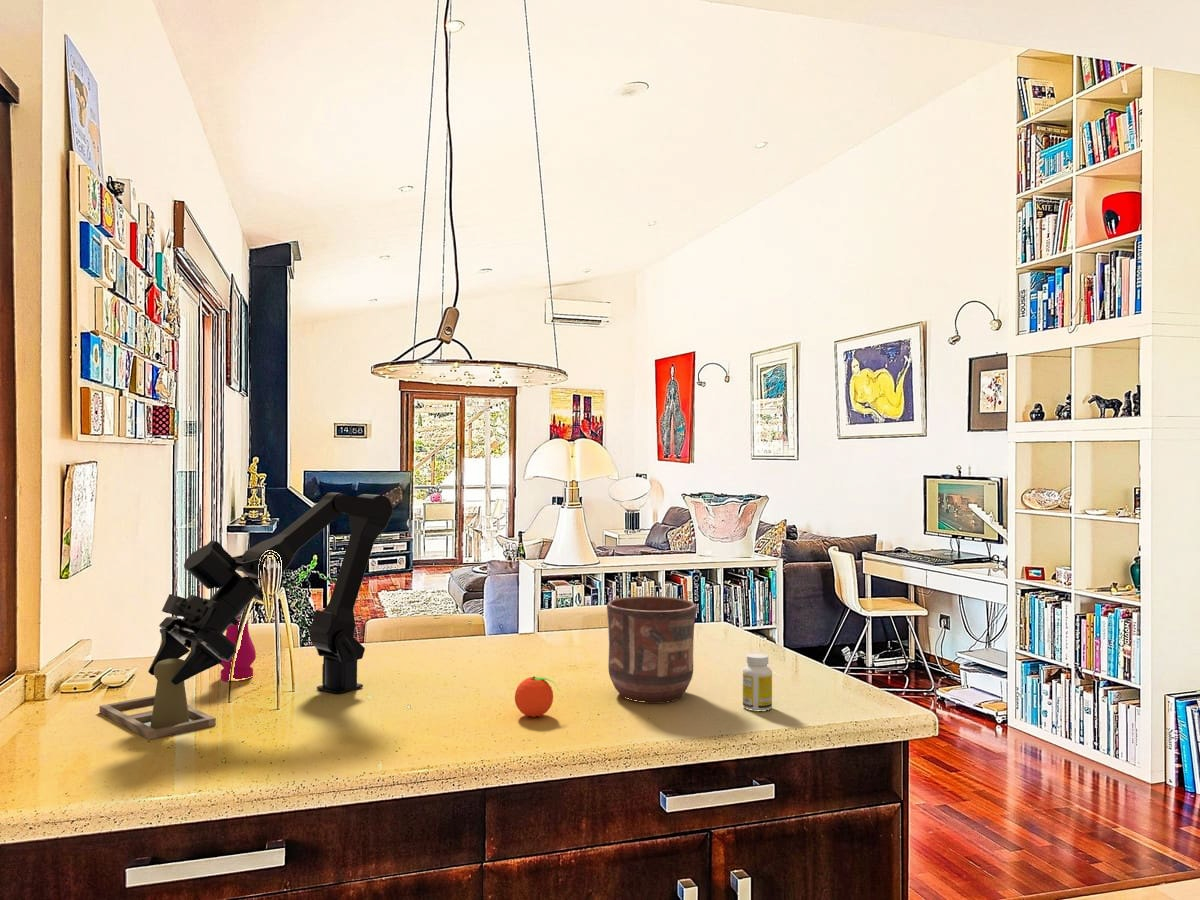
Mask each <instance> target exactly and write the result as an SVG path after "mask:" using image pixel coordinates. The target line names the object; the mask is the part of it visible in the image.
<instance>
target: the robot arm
mask: <svg viewBox="0 0 1200 900" xmlns="http://www.w3.org/2000/svg"><path fill="white" fill-rule="evenodd" d="M393 511H394V506H393V505H392V501H391V500H390V499H389V498H388V497H387V496H385V495H382V494H380V495H379V494H371V493H370V494H368V493H364V494H360V495H358V496H353V495H347V494H345V493H342V492H328V493H325V494H324V496H323V497H322V498H321V499H320V500H319V501H318V502H317V503H315V504H314V505H313V506H312V507H310V509H308V510H307V511H306V512H303V514H302V515H301V516H300V517H297V519H296V520H294V521H293V522H292V523H291V524H290V525H289V526H287V527H286V528H285V529H284V530H282V531H281V532H280V533H278V534H277V535H275V536H273V537H271V538H268V539H264V540H263V541H260V542H259V543H257V544H255V545H254V546H252V547H250V548H248V549H247V550H246V551H245V552H244V553H243V554H240V555H236V556H232V555H231V554H230V553H229V552H228V551H226V549H225V548H224V547H223V545H222V544H221V543H220V542H219V541H217V540H210V541H209V542H208V543H207V544H205V545H203V546H201V547H199V548H198V549H196V550H195V551H193V552H192V553H190V555H189V556H188V557H187V558H186V560H185V561H184V563H183V568H184V569H185V570H186V571H187V572H188V573H189V574H191V576H193V577H194V578H195V579H196V581H198V582H199V583H200V584H201V585H203V587H204V588H206V589H207V590H212V589H214V588H215V589H217V590H216V591H215V592H214V594H212V596H211V597H210V598H203V597H201V596H198V595H194V594H190V595H189V596H188V597H187V598H185V597H182V596H179V595H175V594H171V593H169V594H168V596H167V599H166V600H165V603H164V605H163V607H162V609H161V612H162V613H165V614H170V615H173V616H166V617H165V618H164V619H163V620H162V622H160V623H159V625H158V626H159V628H160V629H159V634H160V635H161V644H160V646H159V649H158V650H157V652H156V655H155V656H154V659H153V660H152V662H151V665H150V667H149V668H148V672H147V673H148V674H150V675H151V676H154V667H155V665H156V663H157V662H159V661H161V660H165V659H171V658H177V659H181V658H182V657H183V656H185V655H186V654H188V655H187V656H186V658H185V659H184V662H183V663H182V665H181V666H180V668H179V669H178V670H177V672H176V673H175V675H174V676H173V678H172V679H171V682H172V683H173V684H174V685H177V684H179V683H181V682H183V681H184V682H186V680H189V679H190V678H192V677H194V676H196V675H198V674H200V673H202V672H204V671H207V670H209V669H211V668H212V667H215V666H217V665H221V664H222V663H223V661H222V660H224V661H227V662H228V661H229V660H230V659H231V658H232V657H233V656H234V654H235V653H236V645H235V644H234V643H232V642H231V641H230V640H229V639H228V638H227V637H226V635H224V634H225V633H226V631H227V628H228V627H229V626H230V625H233V626H236V625H237V623H238V622H239V621H238V620H237V619H236V618H237V617H238V616H239V614H240V613H241V612H242V611H243V610H244V609H245V607H246V606H247V605H248V604H249V603H250V602H251V601H252V599H253V600H256V601H260V602H264V601H263V594H262V591H261V587H259V585H260V584H257V583H256V582H255V581H254V580H253V579H256V580H260V579H261V578H260V570H262V574H263V564H264V561H265V559H266V558H267V556H266V557H265V558H264V559H263V562H262V566H261V561H262V558H263V557H264V555H266V554H267V553H269V552H272V551H268V552H266V553H265V554H264V555H263V556H262V557H261V555H262V554H263V553H264V552H265V551H267V550H273V551H275V552H277V553H278V554H279V555H280V557H281V560H282V574H283V572H285V571H286V569H287V568H288V567H289V566H290V565H291V563H292V561H293V559H294V556H295V555H296V554H297V552H299V550H300V549H301V548H302V547H304V546H305V545H306V544H307V543H309V542H310V540H312V539H313V538H315V537H316V535H318V534H319V533H320V532H321V531H323V530H324V529H325V528H327V526H328V525H330V524H331V523H332V522H333V521H335V520H336V519H337V518H338V517H339V516H340V515H342V514H344V515H349V516H348V517H349V518H348V523H349V530H350V535H349V538H348V539H349V540H348V542H347V546H346V549H345V552H344V556H343V559H342V562H341V565H340V567H339V570H338V571H339V572H338V574H337V578H336V581H335V583H334V587H333V591H332V593H331V596H330V599H329V602H328V604H327V605H326V606H325V607H324V609H322V610H319V609H316V610H315V611H314V614H313V619H312V622H311V624H310V625H309V627H308V628H307V629H308V630H309V631H310V633H309V640H310V642H311V643H312V644H311V645H312V646H314V648H315V649H316V651H317V655H318V656H319V657H323V659H322V660H323V661H322V668H321V669H322V672H321V673H322V674H321V675H322V681H321V683H322V684H321V685H318V686H316V690H319V691H324V692H328V693H332V694H345V693H347V692H349V691H350V690H351V691H354V690H356V689H357V688H358V689H361V688H363V687H364V684H361V683H358V660H362V659H363V657H364V654H365V651H366V648H365V647H364V645H362V643H360V642H359V641H358V640H357V639H356V638H355V629H356V626H357V625H356V619H355V613H354V612H355V611H354V609H355V606H356V603H357V599H358V596H359V593H360V589H361V586H362V582H363V580H364V576H365V573H366V570H367V567H368V563H369V561H370V557H371V554H372V551H373V547H374V544H375V541H376V539H378V538H379V536H380V535H381V534H382V533H383V531H385V529H386V528H387V526H388V524H389V522H390V520H391V518H392V515H393ZM272 553H274V552H272ZM277 553H274V554H275V555H276V556H277V557H278V559H277V557H276V556H275V555H274V557H275V558H276V561H277V563H278V561H279V563H280V566H281V562H280V557H279V556H278V555H277ZM268 555H273V554H268ZM260 557H261V561H260V565H259V578H258V564H259V559H260ZM269 558H271V557H269ZM265 569H266V568H265V567H264V570H265ZM238 572H242V573H243V574H244V575H245V576H241V574H239V573H238ZM180 617H181V618H180ZM220 659H222V660H220ZM360 687H361V688H360ZM358 689H357V690H358Z"/></svg>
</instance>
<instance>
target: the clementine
mask: <svg viewBox="0 0 1200 900" xmlns="http://www.w3.org/2000/svg"><path fill="white" fill-rule="evenodd" d="M548 681H549V682H552V683H553V684H554V685H555V686H556V687H557V689H558V691H560V689H559V688H558V684H557V683H555V681H553V680H551V679H549V678H546V677H543V676H540V677H539V676H531V677H527V678H525V679H523V680H522V681H521V682H520V683H519V684H518V686H517V687H516V689H515V691H514V692H515V693H514V702H515V706H516V707H517V709H518V710H519V712H520V713H521V714H523V716H526V717H529V716H531V717H530V718H537V717H536V716H538V717H541V716H543V715H545V714H546V713H547V712H548V711H549V710H550V708H551V707H552V705H553V703H554V702H553V701H554V692H553V689H552V686H551V685H550V684H549V682H548Z"/></svg>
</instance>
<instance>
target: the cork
mask: <svg viewBox="0 0 1200 900" xmlns="http://www.w3.org/2000/svg"><path fill="white" fill-rule="evenodd" d="M184 661H185V659H183V658H179V659H177V658H171V659H165V660H161V661H159V662H157V663H156V665H155V667H154V675H153V676H154V678H155V679H156V687H155V688H156V689H155V693H154V696H155V699H154V704H153V705H152V706H153V707H152V711H153V712H152V719H151V725H150V726H151V728H153V729H157V728H162V727H167V726H171V725H176V724H181V723H185V722H190V721H189V714H188V706H189V705H188V701H187V699H188V698H187V692H186V686H185V685H186V684H185V681H183V682H181V683H179V684H177V685H174V684H173V683H172V682H171V679H172V678H173V676H174V675H175V673H176V672H177V670H178V669H179V668H180V666H181V665H182V663H183V662H184ZM187 705H188V706H187Z"/></svg>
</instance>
